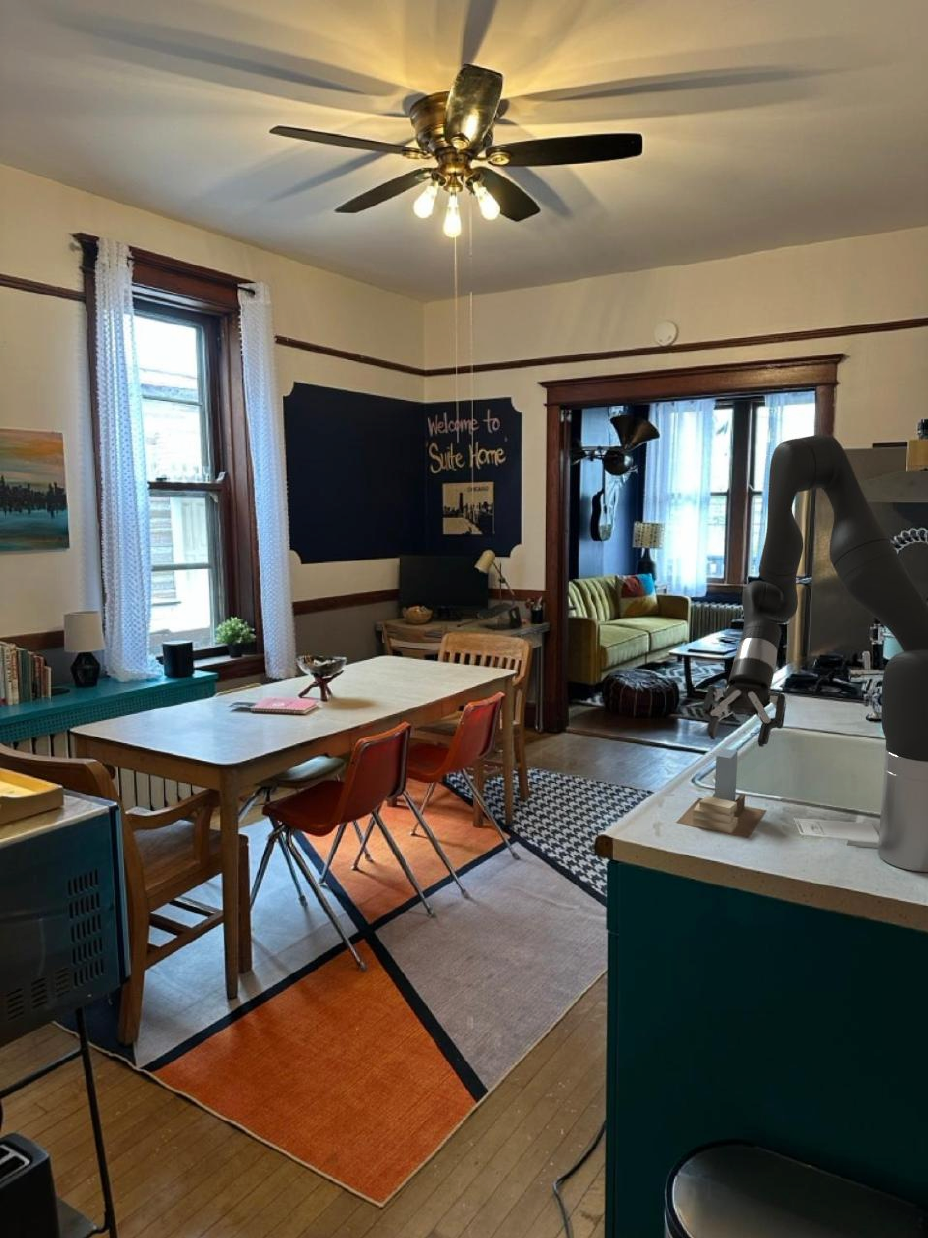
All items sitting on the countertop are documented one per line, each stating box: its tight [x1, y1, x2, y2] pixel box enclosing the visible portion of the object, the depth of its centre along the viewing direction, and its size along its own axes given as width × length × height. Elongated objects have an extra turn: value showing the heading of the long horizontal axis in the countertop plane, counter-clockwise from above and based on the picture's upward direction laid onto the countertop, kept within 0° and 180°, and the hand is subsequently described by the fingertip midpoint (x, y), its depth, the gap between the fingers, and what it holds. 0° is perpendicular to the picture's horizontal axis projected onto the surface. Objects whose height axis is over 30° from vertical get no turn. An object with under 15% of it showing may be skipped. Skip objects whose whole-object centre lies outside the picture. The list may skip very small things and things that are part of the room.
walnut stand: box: [675, 793, 767, 839], centre depth 140 cm, size 12×14×4 cm
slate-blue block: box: [714, 748, 739, 802], centre depth 141 cm, size 2×5×11 cm, turn 148°
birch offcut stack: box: [693, 795, 738, 833], centre depth 136 cm, size 7×4×4 cm, turn 58°
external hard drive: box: [793, 817, 879, 849], centre depth 135 cm, size 2×8×12 cm
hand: (735, 740), depth 145 cm, fingers open, 8 cm apart
